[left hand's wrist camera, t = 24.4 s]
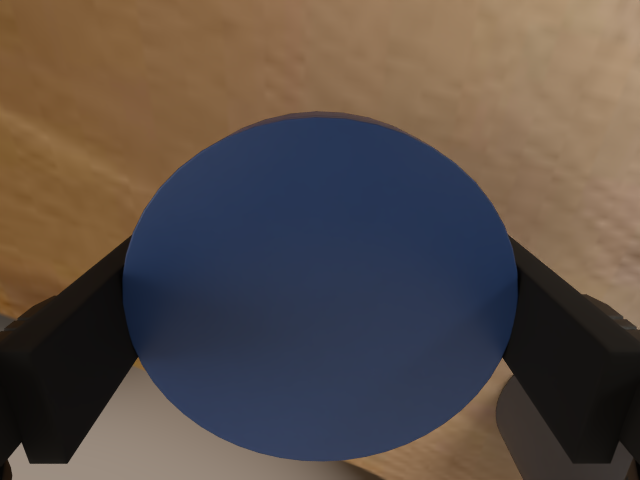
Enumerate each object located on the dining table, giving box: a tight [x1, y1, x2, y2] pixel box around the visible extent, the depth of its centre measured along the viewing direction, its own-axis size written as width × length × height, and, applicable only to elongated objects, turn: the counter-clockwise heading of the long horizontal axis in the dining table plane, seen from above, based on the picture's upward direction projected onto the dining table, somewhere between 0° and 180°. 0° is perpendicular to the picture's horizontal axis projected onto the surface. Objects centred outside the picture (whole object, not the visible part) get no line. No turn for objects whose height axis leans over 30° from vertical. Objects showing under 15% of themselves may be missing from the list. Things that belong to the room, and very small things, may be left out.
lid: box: [122, 111, 518, 461], centre depth 11 cm, size 10×10×2 cm
